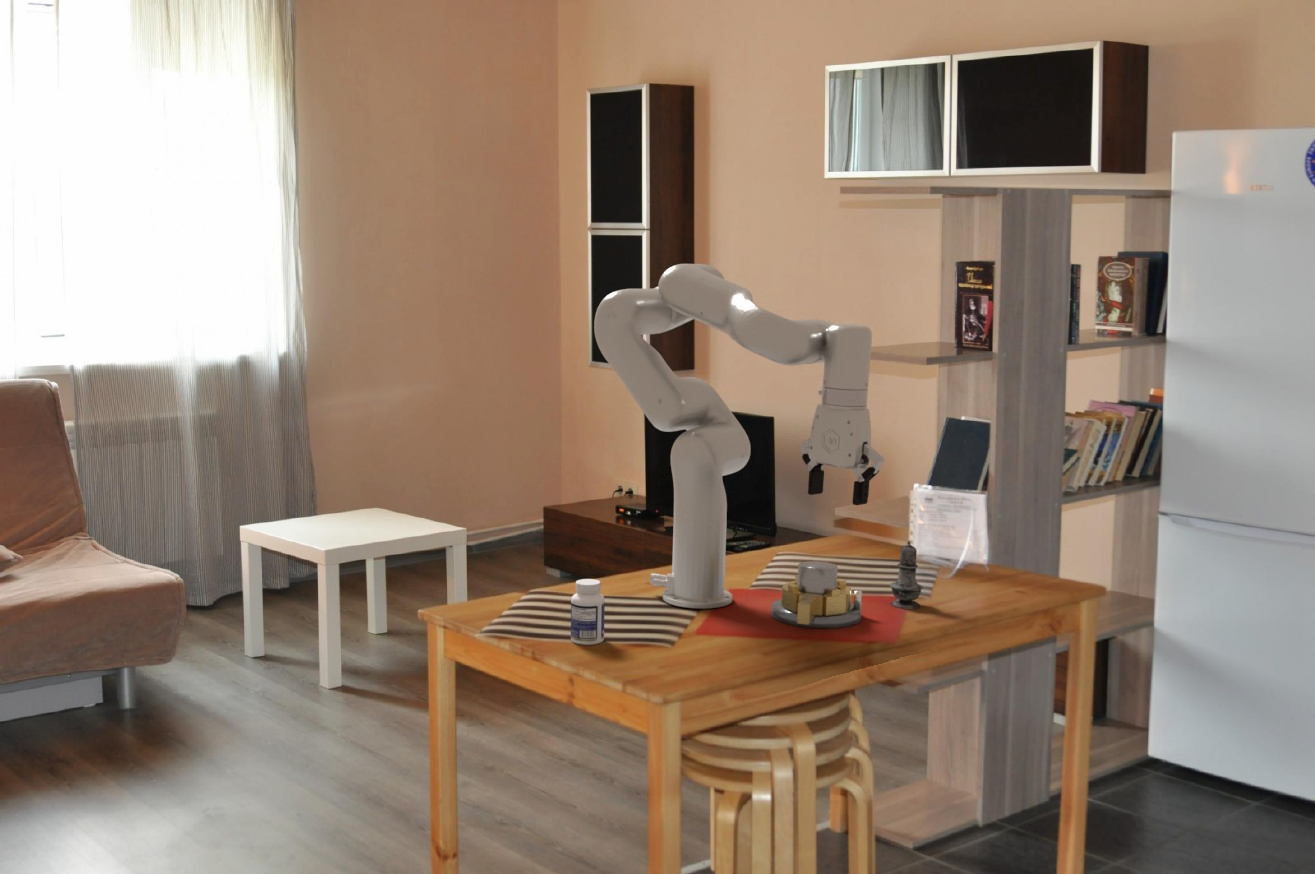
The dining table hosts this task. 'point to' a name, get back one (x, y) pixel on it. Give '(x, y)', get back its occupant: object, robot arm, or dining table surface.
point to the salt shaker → (906, 580)
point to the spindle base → (817, 581)
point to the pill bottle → (587, 613)
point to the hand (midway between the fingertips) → (837, 499)
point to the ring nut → (816, 601)
